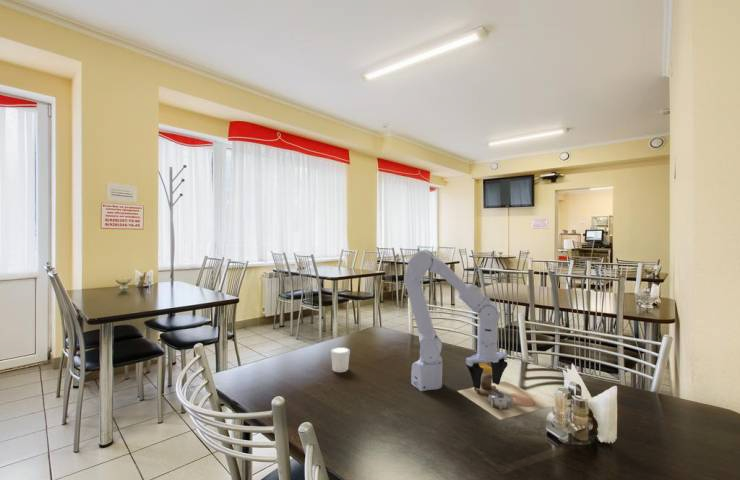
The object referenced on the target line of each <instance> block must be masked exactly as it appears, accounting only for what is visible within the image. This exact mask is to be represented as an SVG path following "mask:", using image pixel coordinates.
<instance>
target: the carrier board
mask: <svg viewBox="0 0 740 480" xmlns="http://www.w3.org/2000/svg"><path fill="white" fill-rule="evenodd" d="M492 386H496V389H498V392H500V391H501V392H503V393H506V394H511V393H518V394H523V395H526V396H529V397H531V398H532V399H533V400H534V405H533V406H529V407H523V406H518V405H515V404H513V408H512V407H511V410H509V411H508V410H502V411H501V410H499V409H497V408H492V407H491V404H489V403H488V399H489V396H487V397H484V396H483V395H480V394H477V392H476V391H475V390H474V386H473V387H470V388H464V389H460V390H457V392H458V393H459V394H460V395H463V396H464V398H467V399H468V400H469V401H472V402H473V403H474V404H476V405H478V406H479V407H480V408H482V409H483V410H484V411H487V412H488V413H489V414H491V415H492V416H493V417H495V418H497V419H498V420H500V421H501V420H505V419H509V418H513V417H516V416H519V415H524V414H528V413H531V412H535V411H539V410H542V409H546V408H550V407H554V406H553V405H554V404H552V403H550V402H547V401H546V400H544V399H543V398H540V397H538V396H536V395H534V394H533V393H530V392H529V391H527V390H525V389H523V388H520V387H519V386H517V385H515V384H513V383H511V382H509V381H507V380H502V381H500V383H499V385H497V384H495V383H493V382H492Z"/></svg>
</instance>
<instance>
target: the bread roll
mask: <svg viewBox="0 0 740 480" xmlns="http://www.w3.org/2000/svg"><path fill="white" fill-rule="evenodd" d="M479 365H480V367H481V368H483V369H484V370H483V372H482V374H483V373H488V374H491V375H492V366H490V365H489V364H488V363H487V362H486V363H481V364H479ZM481 376H482V375H481Z"/></svg>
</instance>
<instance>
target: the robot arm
mask: <svg viewBox="0 0 740 480" xmlns="http://www.w3.org/2000/svg"><path fill="white" fill-rule="evenodd" d="M428 270H429V273H431V274H436V275H440V276H441V277H442V278H443V279H444V280H446V282H448V283H449V284H450V285H451V286H452V287H453V288H454V289H455V290H456V291H458V298H459V299H461V301H463V303H464V304H466V305H467V306H468V307H469V308H470V309H471V310H472V311H473V312H475V313H477V317H478V326H477V353H475V354H473V355H472V356H469V357H466V358H465V365H466V367H467V369H468V372H469V373H470V377H471V381H472V385H473V387H475V388H477V389H480V385H481V375H482V372H483V370H484V369H483V368H481V367H480V365H479V364H481V363H486V364H487V363H490V367H492V383H495V384H497V385H499V383H500V382H501V379H502V377H503V374H504V372H505V370H506V368H507V367H508V364H509V363H508V361H507V360H508V353H507V352H504V351H499V352H498V334H499V333H498V320H499V319H500V314H499V310H498V307H497V306H496V304H495V302H494V301H493V300H491V298H489V297H486V296H485V295H484V294H483V293H482V292H481V291H480V290H479V289H480V288H479V287H478V285H474V284H472V283H465V282H464V280H462V279H461V278H460V276H458V275H457V274H456V273H455V271H453V270H452V269H451V267H449V266H448V265H447V264H446V263H445V262H444V261H443V260H442V259H440V258H439V257H438V256H436V255H434V254H433V252H432V251H430V250H428V249H423V250H420V251H416V252H415V253H414V254H413V255H412V256H411V258H410V259H409V260H408V264H407V268H406V272H405V274H404V277H403V279H404V280H403V281H404V284H405V288H406V291H407V295H408V298H409V301H410V305H411V306H410V307H411V309H412V312H413V317H414V319H415V320H414V321H415V323H416V327H417V330H418V340H419V346H420V348H419V358H418V360H417V361H414V362H412V364H411V373H410V383H411V385H412V386H413V387H414V388H416V389H417V390H418V391H420V392H424V391H431V390H439V389H441V388H442V387H443V357H442V356H441V351H442V349H443V342H442V340H441V339H440V338H439V336H438V335H437V332H436V330H435V328H434V325H433V322H432V318H431V315H430V312H429V308H428V304H427V300H426V297H425V293H424V289H423V286H422V283H421V281H422V279H423V277H424V275H425V273H426V272H427V271H428Z"/></svg>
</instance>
